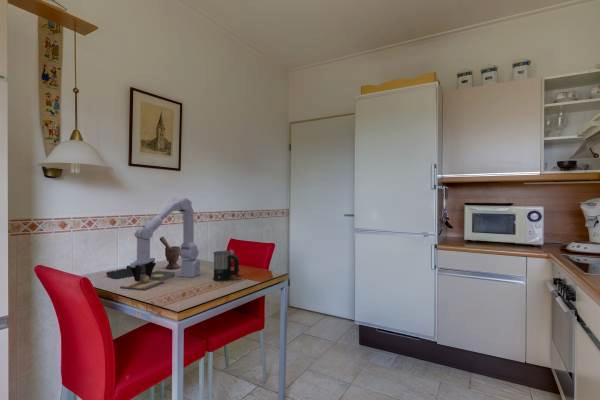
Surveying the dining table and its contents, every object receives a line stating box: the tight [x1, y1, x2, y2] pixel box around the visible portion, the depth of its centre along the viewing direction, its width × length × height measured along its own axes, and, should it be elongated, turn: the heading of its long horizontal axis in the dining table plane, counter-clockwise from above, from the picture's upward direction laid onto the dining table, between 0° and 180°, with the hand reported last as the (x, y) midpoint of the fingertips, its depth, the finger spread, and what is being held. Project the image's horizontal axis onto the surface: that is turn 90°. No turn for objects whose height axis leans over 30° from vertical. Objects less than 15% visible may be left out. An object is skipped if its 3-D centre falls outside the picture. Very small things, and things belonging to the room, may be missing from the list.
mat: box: [119, 281, 165, 291], centre depth 153 cm, size 14×14×1 cm
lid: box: [120, 275, 164, 289], centre depth 153 cm, size 13×13×4 cm
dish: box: [144, 270, 176, 282], centre depth 168 cm, size 12×12×2 cm
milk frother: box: [212, 250, 240, 282], centre depth 171 cm, size 14×16×15 cm
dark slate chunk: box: [105, 264, 146, 280], centre depth 176 cm, size 15×22×5 cm
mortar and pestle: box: [159, 236, 181, 270], centre depth 190 cm, size 12×9×20 cm
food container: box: [229, 249, 235, 267], centre depth 200 cm, size 12×6×10 cm, turn 148°
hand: (142, 279), depth 153 cm, fingers open, 7 cm apart
